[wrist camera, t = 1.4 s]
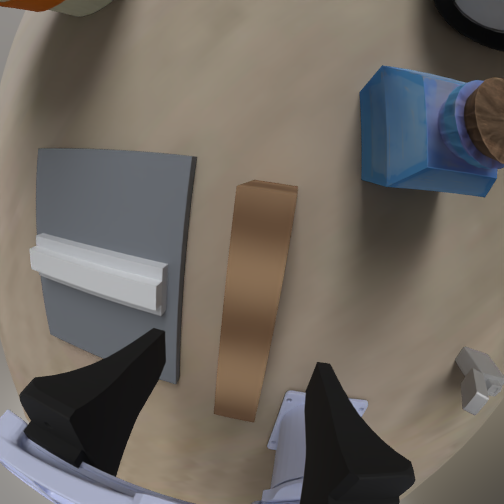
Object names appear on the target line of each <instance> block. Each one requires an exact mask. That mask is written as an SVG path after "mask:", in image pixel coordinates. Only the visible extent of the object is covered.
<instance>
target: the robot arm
mask: <svg viewBox="0 0 504 504" xmlns="http://www.w3.org/2000/svg"><path fill="white" fill-rule="evenodd" d="M165 363H166V343H165V331H163V330H160V329H156V328H153V329H151V330H150V331H148V332H147V333H145V334H144V335H142V336H141V337H139V338H138V339H136V340H135V341H133V342H132V343H130V344H129V345H127V346H125V347H124V348H122V349H121V350H119V351H117V352H116V353H114V354H112V355H110V356H108V357H107V358H105V359H102V360H100V361H98V362H96V363H94V364H91V365H89V366H86V367H83V368H80V369H77V370H74V371H70V372H66V373H62V374H57V375H52V376H44V377H35V378H34V379H33V380H32V381H31V382H30V383H29V384H28V385H27V386H26V388H25V389H24V390H23V391H22V392H21V393H20V395H19V396H20V401H21V404H22V406H23V407H24V409H25V411H26V413H27V414H28V416H29V418H30V420H31V422H30V423H29V424H27V423H26V422H25V421H24V420H22V419H21V418H20V417H18V416H17V415H15V414H14V413H13V412H11V411H10V410H6V412H5V413H4V414H3V415H2V416H1V418H0V462H1V463H2V465H3V466H4V467H5V468H7V469H8V470H9V471H10V472H11V473H13V474H14V475H15V476H17V477H18V478H19V479H21V480H22V481H23V482H24V483H26V484H27V485H29V486H30V487H31V488H33V489H34V490H35V491H37V492H38V493H40V494H41V495H43V496H44V497H45V498H47V499H49V500H50V501H51V502H53V503H55V504H194V503H190V502H187V501H183V500H179V499H176V498H173V497H169V496H166V495H163V494H160V493H157V492H154V491H151V490H148V489H145V488H142V487H140V486H137V485H134V484H132V483H129V482H127V481H124V480H122V479H119V478H117V477H116V475H117V471H118V468H119V465H120V461H121V458H122V455H123V452H124V450H125V447H126V444H127V441H128V439H129V436H130V434H131V431H132V429H133V426H134V424H135V421H136V419H137V417H138V415H139V413H140V411H141V409H142V408H143V406H144V404H145V402H146V401H147V399H148V397H149V396H150V394H151V392H152V391H153V389H154V387H155V385H156V384H157V382H158V380H159V378H160V376H161V373H162V371H163V368H164V366H165ZM367 407H368V402H367V401H366V400H360V399H350V398H348V396H347V395H346V393H345V391H344V390H343V388H342V386H341V384H340V382H339V380H338V378H337V376H336V375H335V373H334V370H333V368H332V366H331V365H330V364H328V363H320V362H317V364H316V367H315V369H314V372H313V374H312V377H311V380H310V382H309V385H308V387H307V390H306V393H304V392H298V391H287V392H286V393H285V396H284V399H283V402H282V405H281V408H280V411H279V414H278V417H277V420H276V422H275V425H274V428H273V431H272V434H271V436H270V439H269V442H268V445H267V447H268V448H269V449H272V450H276V454H275V461H274V468H273V475H272V481H271V488H270V489H268V490H263V494H262V500H261V501H254V502H252V503H251V504H399V502H400V501H399V496H400V495H401V494H403V493H404V492H405V491H406V490H408V489H409V488H410V487H411V486H412V485H413V484H414V482H415V476H414V470H413V467H412V464H411V461H409V460H408V459H406V458H405V457H403V456H402V455H400V454H399V453H397V452H396V451H395V450H393V449H392V448H391V447H390V446H389V445H387V444H386V443H385V442H384V441H383V440H382V439H381V438H380V437H379V436H378V435H377V434H376V433H375V432H374V431H373V430H372V429H371V428H370V427H369V426H368V425H367V424H366V422H365V421H364V420H363V419H362V415H363V414H364V412H365V410H366V408H367Z"/></svg>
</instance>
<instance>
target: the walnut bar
mask: <svg viewBox="0 0 504 504" xmlns="http://www.w3.org/2000/svg"><path fill="white" fill-rule="evenodd" d="M297 191H298V187H297V186H291V185H285V184H279V183H272V182H265V181H258V180H252V181H250V182H247V183H244V184H241V185H238V186H237V188H236V196H235V205H234V213H233V222H232V230H231V239H230V248H229V257H228V266H227V276H226V285H225V295H224V305H223V315H222V326H221V336H220V347H219V358H218V369H217V381H216V393H215V406H214V414H216V415H221V416H225V417H229V418H234V419H239V420H244V421H249V422H254V420H255V416H256V412H257V407H258V403H259V398H260V393H261V389H262V384H263V379H264V375H265V370H266V365H267V360H268V355H269V351H270V346H271V341H272V336H273V330H274V325H275V320H276V315H277V310H278V304H279V299H280V294H281V288H282V283H283V277H284V272H285V266H286V260H287V255H288V249H289V243H290V237H291V231H292V225H293V219H294V212H295V206H296V200H297Z"/></svg>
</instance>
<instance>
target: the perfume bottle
mask: <svg viewBox="0 0 504 504" xmlns="http://www.w3.org/2000/svg"><path fill="white" fill-rule="evenodd" d="M360 107H361V140H362V174H361V180H364V181H368V182H371V183H375V184H378V185H382V186H385V187H396V188H408V189H419V190H429V191H439V192H448V193H457V194H465V195H472V196H480V197H485V196H486V195H487V193H488V192H489V190H490V189H491V187H492V185H493V184H494V182H495V180H496V179H497V169H501V168H503V167H504V79H501V78H496V77H493V78H490V79H486V80H485V81H480V80H474V81H471V82H468V83H465V82H461V81H458V80H454V79H450V78H446V77H442V76H438V75H433V74H429V73H424V72H419V71H414V70H408V69H402V68H396V67H390V66H383V65H382V66H381V68H380V69H379V70H378V71H377V72H376V73H375V75H374V76H373V77H372V78H371V79H370V81H369V82H368V83H367V84H366V85H365V86H364V88H363V89H362V90H361V91H360Z"/></svg>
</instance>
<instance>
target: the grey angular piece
mask: <svg viewBox="0 0 504 504" xmlns="http://www.w3.org/2000/svg"><path fill="white" fill-rule="evenodd" d="M455 361H456V363H457V365H458V366H459V368H460V370H461V371H462V373H463V374H464V376H465V378H464V379H463V381H462V382H461V393H462V409H464V410H465V411H467V412H469V413H471V414H473V415H476V414H477V413H478V412H479V411H480V409H481V408H482V407H483V406H484V405H485V404H486V402H487V401H488V399H489V397H488V395H490V396H496V395H497V394H498V392H500V391H501V388H502V385H503V384H504V375H503V374H502V373H501V371H500V370H499V369H498V367H497V366H496V365H495V363H494V362H493V361H492V359H491V358H490V357H489V355H488V354H486V353H483V352H480V351H477V350H474V349H471V348H468V347H463V349H462V350H461V352H460V353H459V355H458V356H457V358H456V359H455Z"/></svg>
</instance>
